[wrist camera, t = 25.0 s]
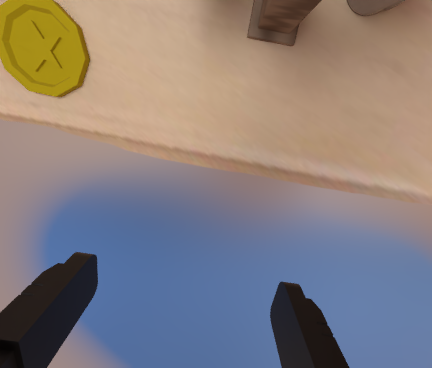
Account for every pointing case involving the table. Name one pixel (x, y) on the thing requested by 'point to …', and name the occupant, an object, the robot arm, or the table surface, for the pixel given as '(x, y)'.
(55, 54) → the decorative disc
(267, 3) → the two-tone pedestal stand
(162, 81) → the table surface
